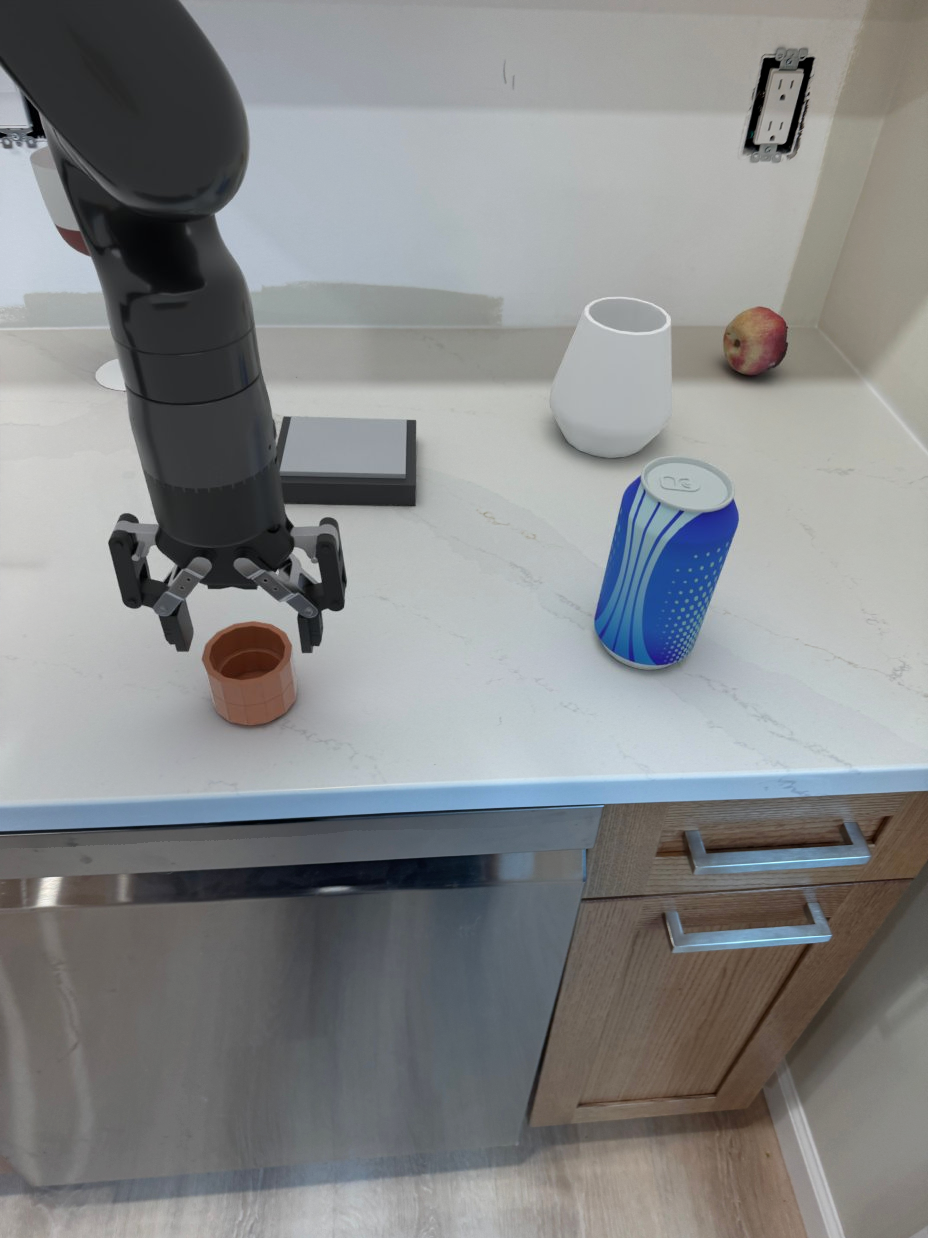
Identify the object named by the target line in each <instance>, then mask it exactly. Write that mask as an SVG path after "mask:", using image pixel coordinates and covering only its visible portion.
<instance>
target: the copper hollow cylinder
mask: <svg viewBox="0 0 928 1238" xmlns="http://www.w3.org/2000/svg"><path fill="white" fill-rule="evenodd" d="M201 662H202V666H203V670H204V674H205V679H206V683H207V686H208V690H209V694H210V699H211V701H212V705H213V707H214V709H215V711H216V713H217V714H218V715H219V716H220V717H222V718H223V719H225V720H226V721H227V722H229V723H233V724H238V725H244V726H249V727H250V726H257V725H263V724H267V723H270V722H272V721H274V720H275V719H277V718H279V717H281V716H283V715H284V714H286V713H287V712H288V710H289V709H290V708H291V707H292V705H293V704H294V703H295V701H296V699H297V693H298V680H297V673H296V672H297V671H296V664H295V656H294V649H293V644H292V642H291V640H290V638H289V636H288V634H287V633H286V632H285V631H284V630H282V629H280V628H279V627H278V626H275V625H274V624H272V623H269V622H268V623H267V622H261V621H256V620H252V621H244V622H238V623H237V622H236V623H233V624H231V625H228V626H227V627H224V628H223V629H220V630H218V631H217V632H216V633H215V634H214V635H213V636H212V637H211V638H210V639H209V640H208V641H207V642H206V643H205V645H204V649H203V652H202V655H201Z"/></svg>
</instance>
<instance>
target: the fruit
mask: <svg viewBox="0 0 928 1238" xmlns="http://www.w3.org/2000/svg"><path fill="white" fill-rule="evenodd" d="M788 329H789V326H788V325H787V322H786V321H785V319H784V317H782V316H781V315H780V314H778V313H777V312H776V311H774V310H772V309H771V308H770V307H769V308H768V307H764V306H758V305H757V306H755V307H751V308H748V309H746V310H743V311H742V312H739V313H738V314H737V315H736V316H735V317H734V318H733V319H732V320H731V321H730V322H729V323H728V324H727V326H726V328H725V331H724V333H723V339H722V344H723V345H722V349H723V354H724V358H725V359H726V361H727V363H728V365H730V367H731V368H732V369H733V370H734V371H736V372H738V373H739V374H742V375H745V376H758V375H760V374H762V373H763V372H765V371H770V370H772V369H775V368H777V367H779V365H780V364H781V363H782V361H783V360H784V359H785V358H786V355H787V351H788V347H789V342H787V339H788Z"/></svg>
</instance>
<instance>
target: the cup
mask: <svg viewBox="0 0 928 1238" xmlns="http://www.w3.org/2000/svg"><path fill="white" fill-rule="evenodd" d="M672 372H673V369H672V319H671V315H670V314H669V313H667V311H666V310H665V309H664V308H661V307H660V306H658V305H656V304H654V303H652V302H650V301H646V300H643V299H641V298H636V297H629V296H628V297H627V296H607V297H603V298H598V299H595V300H591V302H589V303H587V305H585V306H584V309H583V311H582V313H581V316H580V318H579V320H578V322H577V325H576V328H575V330H574V332H573V335H572V337H571V339H570V342H569V344H568V346H567V349H566V351H565V353H564V355H563V358H562V360H561V362H560V365H559V367H558V370H557V372H556V374H555V376H554V379H553V381H552V384H551V388H550V391H549V399H548V402H549V408H550V410H551V413H552V414H553V417H554V418H555V421H556V423H557V425H558V427H559V429H560V431H561V433H562V436H564V438H565V440H566V441H567V443H568V444H569V445H570V446H572V447H573V448H575V449H576V450H577V451H580V452H582V453H585V454H588V455H590V456H593V457H599V458H600V457H601V458H606V459H617V458H626V457H629V456H631V455H633V454H637V453H639V452H640V451H641V450H642V449H643V448H644V447H646V446H647V444H649V443H650V442H651V441H652V440H653V439H654V438H655V437H657V435H658V434H660V433H661V432H662V430H663V429H664V428H665V427H666V426H667V425H668V423H669V422H670V420H671V418H672V417H673V373H672Z"/></svg>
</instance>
